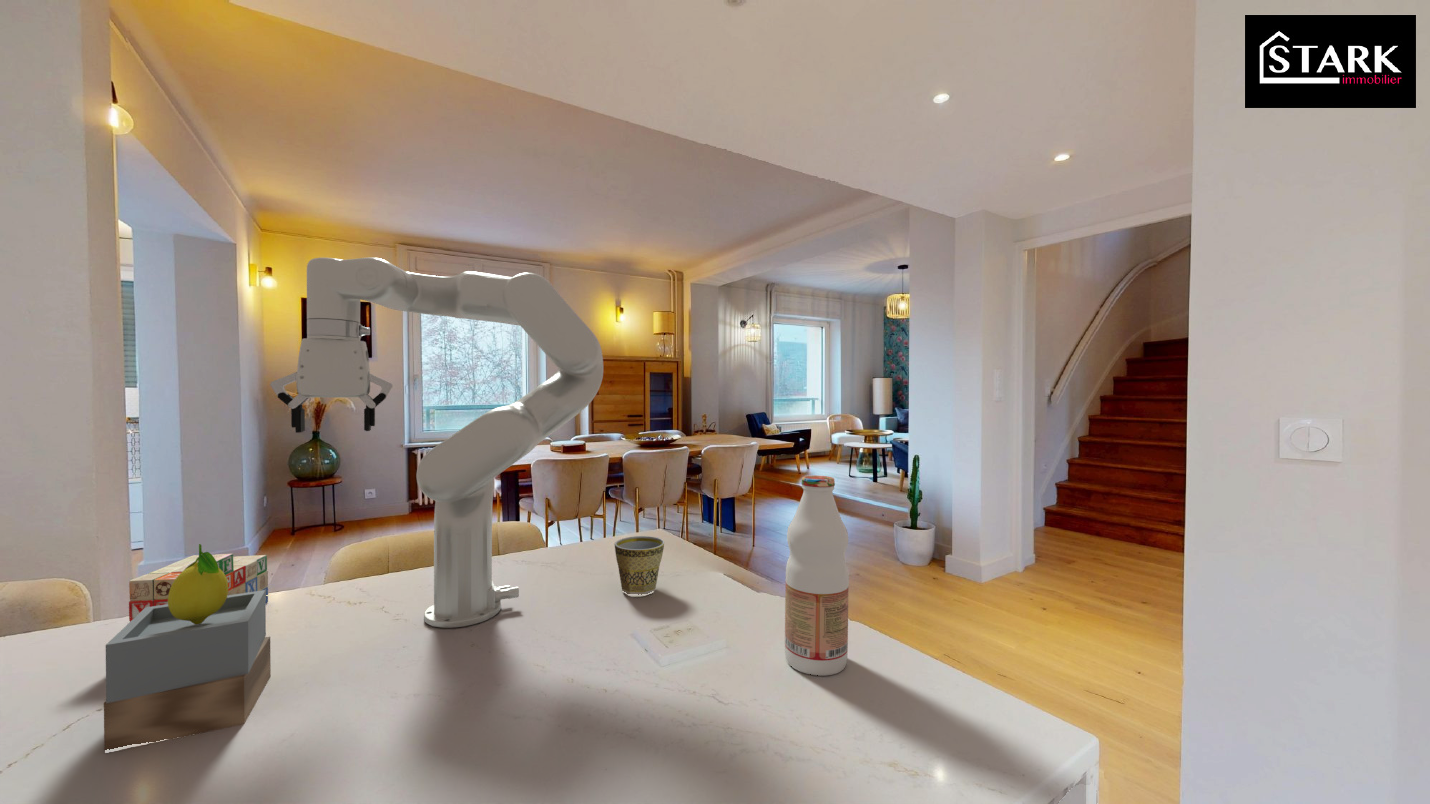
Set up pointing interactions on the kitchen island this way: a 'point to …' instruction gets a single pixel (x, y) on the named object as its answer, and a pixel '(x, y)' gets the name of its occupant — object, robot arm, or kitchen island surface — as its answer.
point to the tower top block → (184, 648)
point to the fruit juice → (817, 583)
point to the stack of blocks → (156, 585)
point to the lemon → (198, 590)
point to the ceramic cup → (639, 563)
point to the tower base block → (187, 707)
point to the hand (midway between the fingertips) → (334, 431)
